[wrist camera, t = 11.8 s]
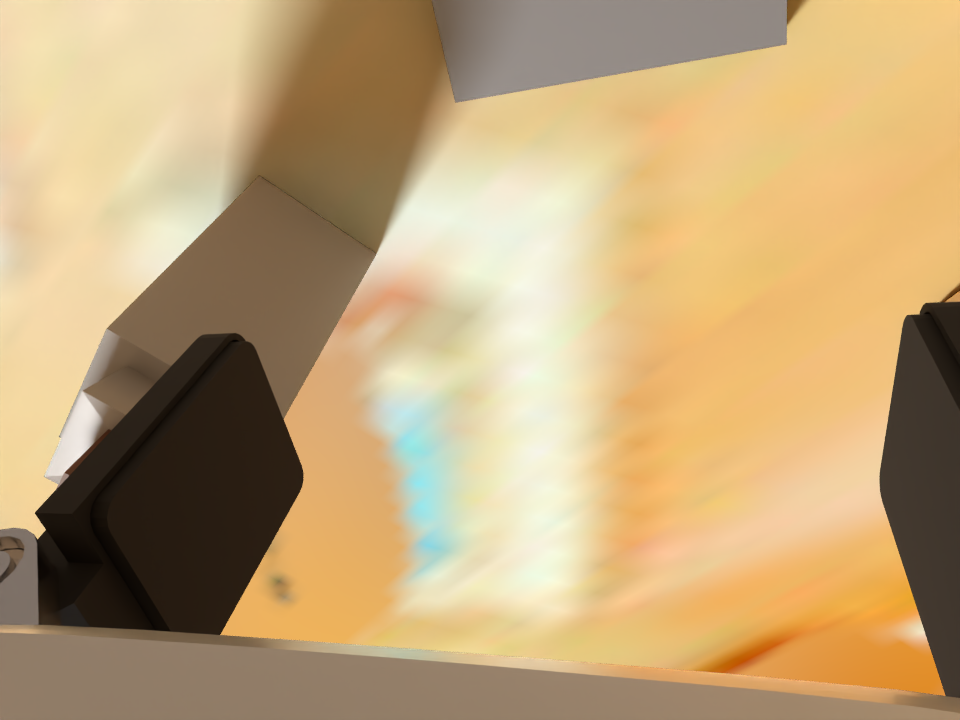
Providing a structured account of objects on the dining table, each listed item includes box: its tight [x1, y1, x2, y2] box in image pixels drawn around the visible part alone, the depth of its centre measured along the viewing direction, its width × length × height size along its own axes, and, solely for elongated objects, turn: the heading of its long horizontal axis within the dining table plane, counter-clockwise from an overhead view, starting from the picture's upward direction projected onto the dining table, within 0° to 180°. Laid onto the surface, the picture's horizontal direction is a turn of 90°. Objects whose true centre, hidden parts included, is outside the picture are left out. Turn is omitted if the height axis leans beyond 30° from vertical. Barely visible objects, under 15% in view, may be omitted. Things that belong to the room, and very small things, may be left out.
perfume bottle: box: [44, 176, 376, 488], centre depth 32 cm, size 7×7×18 cm
